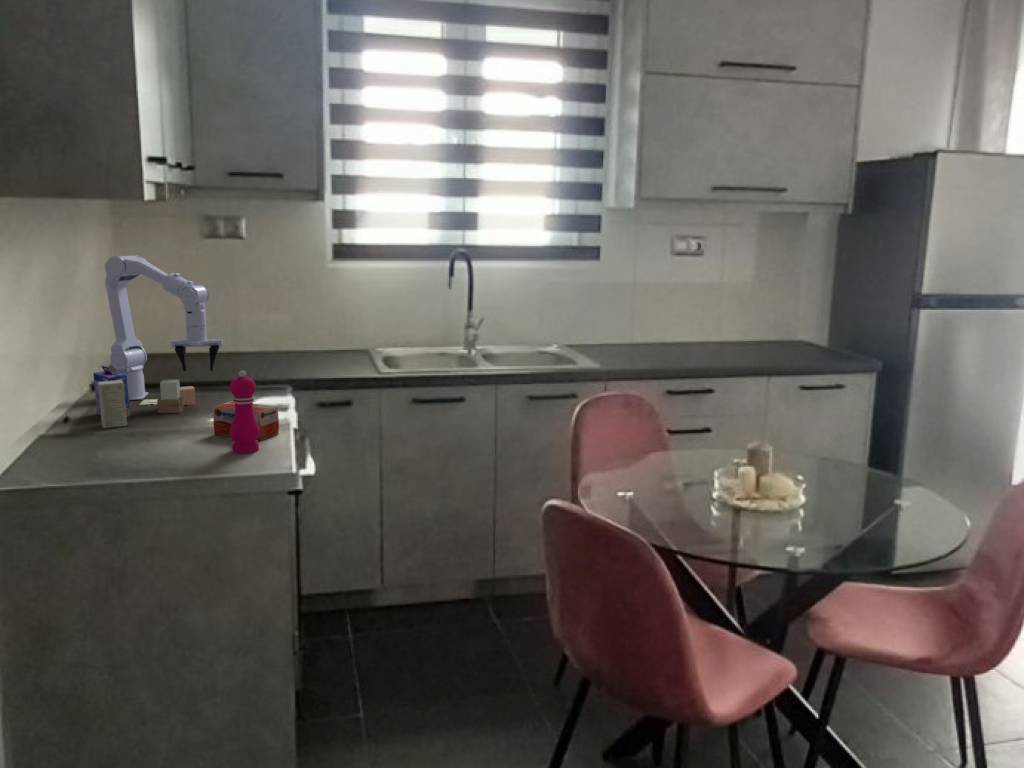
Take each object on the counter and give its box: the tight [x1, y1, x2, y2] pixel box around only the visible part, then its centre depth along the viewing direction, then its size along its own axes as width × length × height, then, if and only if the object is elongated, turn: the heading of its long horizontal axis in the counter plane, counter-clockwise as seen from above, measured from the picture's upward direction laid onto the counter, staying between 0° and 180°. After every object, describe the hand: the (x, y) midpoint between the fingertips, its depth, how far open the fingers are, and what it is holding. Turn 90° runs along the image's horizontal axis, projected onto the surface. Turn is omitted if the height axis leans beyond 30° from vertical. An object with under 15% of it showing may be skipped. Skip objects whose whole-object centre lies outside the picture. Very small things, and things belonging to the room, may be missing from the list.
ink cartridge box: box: [92, 365, 131, 418], centre depth 246 cm, size 10×6×14 cm, turn 51°
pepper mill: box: [229, 369, 260, 454], centre depth 212 cm, size 7×7×20 cm
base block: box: [156, 396, 185, 414], centre depth 254 cm, size 6×6×4 cm
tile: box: [139, 398, 159, 406], centre depth 264 cm, size 7×7×1 cm
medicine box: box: [212, 400, 280, 442], centre depth 228 cm, size 15×8×8 cm, turn 69°
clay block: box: [180, 385, 197, 406], centre depth 263 cm, size 4×4×5 cm
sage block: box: [159, 379, 181, 400], centre depth 253 cm, size 4×4×5 cm
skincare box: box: [98, 380, 128, 429], centre depth 234 cm, size 6×4×12 cm
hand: (198, 370), depth 261 cm, fingers open, 7 cm apart
